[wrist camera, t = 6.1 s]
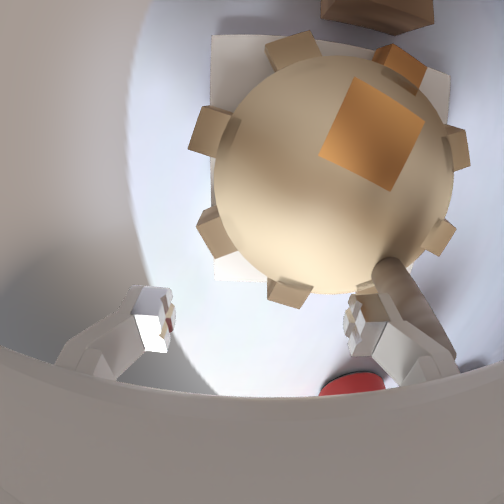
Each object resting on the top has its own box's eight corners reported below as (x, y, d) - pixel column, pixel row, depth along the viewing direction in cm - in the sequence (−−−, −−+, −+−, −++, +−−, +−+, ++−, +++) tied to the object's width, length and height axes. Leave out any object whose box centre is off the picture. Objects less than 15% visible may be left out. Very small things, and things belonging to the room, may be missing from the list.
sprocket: (257, -3, 8) (251, -106, 2) (481, 130, 10) (587, 180, 4) (167, 244, 15) (109, 361, 8) (373, 311, 17) (410, 416, 10)
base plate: (440, 75, 10) (450, 75, 9) (400, 275, 17) (405, 284, 16) (214, 39, 10) (211, 35, 10) (217, 270, 17) (214, 280, 16)
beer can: (320, 372, 22) (336, 502, 12) (389, 363, 22) (422, 480, 12) (314, 406, 26) (323, 510, 16) (373, 398, 25) (393, 496, 15)
